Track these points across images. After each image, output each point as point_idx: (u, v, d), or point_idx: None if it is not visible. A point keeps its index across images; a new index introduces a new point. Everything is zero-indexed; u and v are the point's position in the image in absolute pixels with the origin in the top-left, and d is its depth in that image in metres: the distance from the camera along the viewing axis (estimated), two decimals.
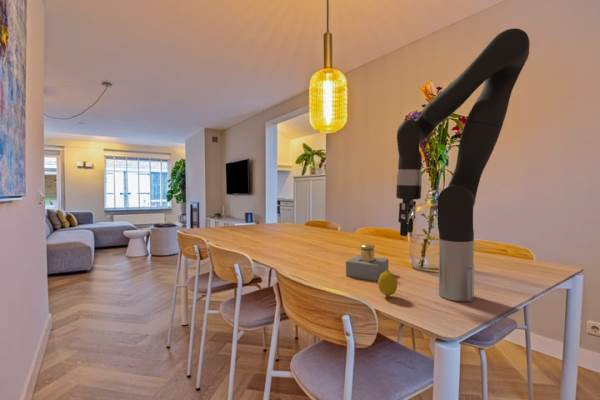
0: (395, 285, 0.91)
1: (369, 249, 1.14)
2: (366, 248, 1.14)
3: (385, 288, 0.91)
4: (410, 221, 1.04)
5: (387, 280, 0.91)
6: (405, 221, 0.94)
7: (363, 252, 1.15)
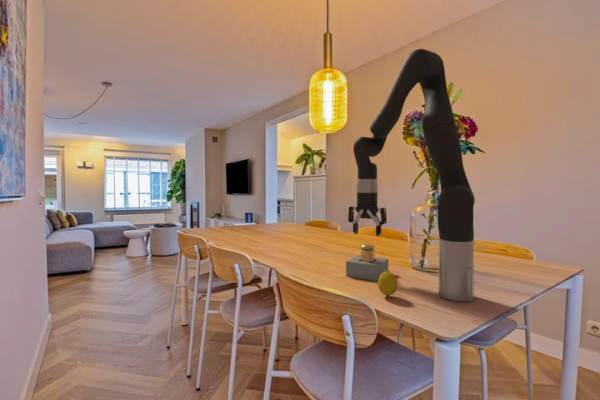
0: (395, 285, 0.91)
1: (369, 249, 1.14)
2: (366, 248, 1.14)
3: (385, 288, 0.91)
4: (357, 224, 1.19)
5: (387, 280, 0.91)
6: (386, 222, 1.13)
7: (363, 252, 1.15)
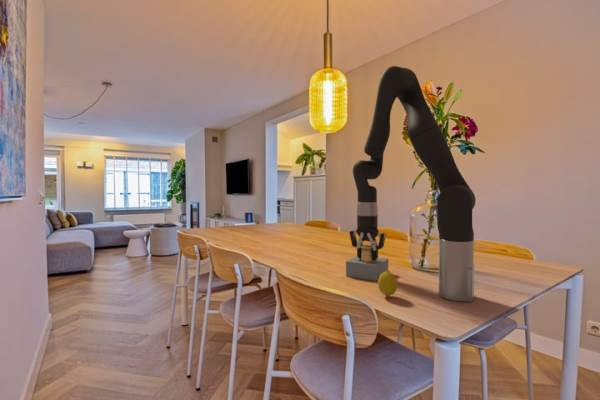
0: (395, 285, 0.91)
1: (369, 249, 1.14)
2: (366, 248, 1.14)
3: (385, 288, 0.91)
4: None
5: (387, 280, 0.91)
6: (382, 247, 1.14)
7: (363, 252, 1.15)
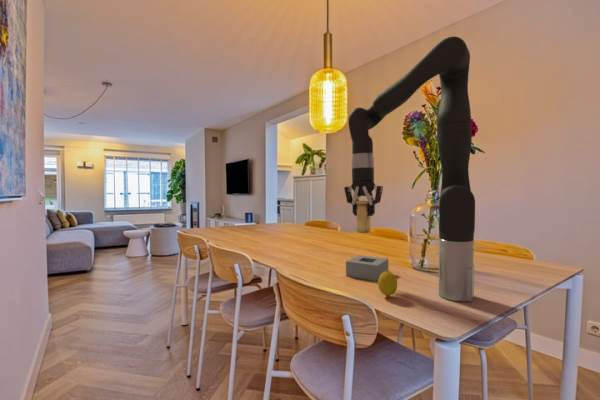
0: (395, 285, 0.91)
1: (365, 204, 1.06)
2: (362, 203, 1.06)
3: (385, 288, 0.91)
4: None
5: (387, 280, 0.91)
6: (379, 201, 1.06)
7: (358, 207, 1.07)
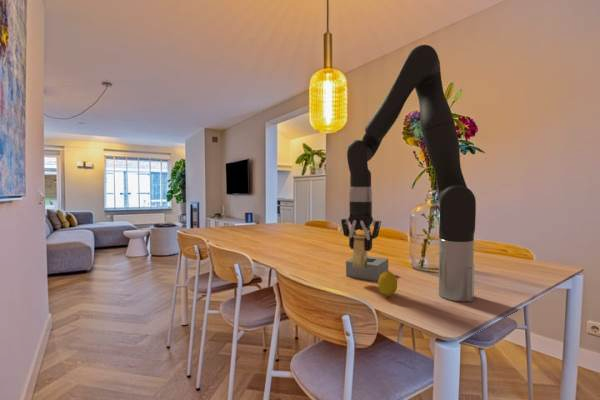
0: (395, 285, 0.91)
1: (362, 239, 1.04)
2: (359, 237, 1.04)
3: (385, 288, 0.91)
4: None
5: (387, 280, 0.91)
6: (377, 236, 1.04)
7: (356, 242, 1.05)
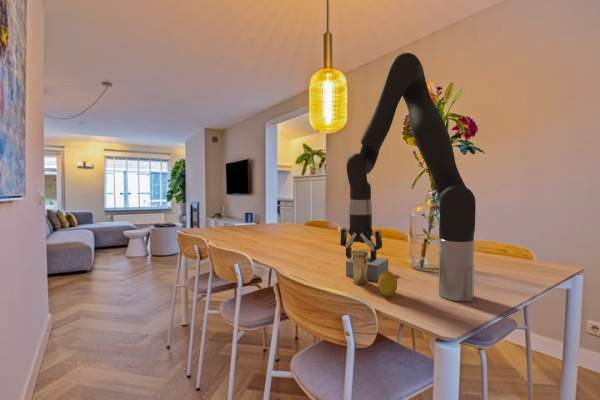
0: (395, 285, 0.91)
1: (362, 255, 1.04)
2: (359, 254, 1.04)
3: (385, 288, 0.91)
4: (350, 247, 1.09)
5: (387, 280, 0.91)
6: (381, 247, 1.03)
7: (355, 259, 1.05)
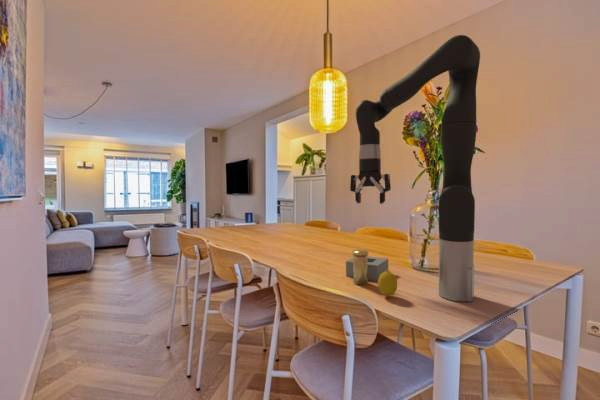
0: (395, 285, 0.91)
1: (362, 255, 1.04)
2: (359, 254, 1.04)
3: (385, 288, 0.91)
4: (359, 193, 1.14)
5: (387, 280, 0.91)
6: (390, 189, 1.09)
7: (355, 259, 1.05)
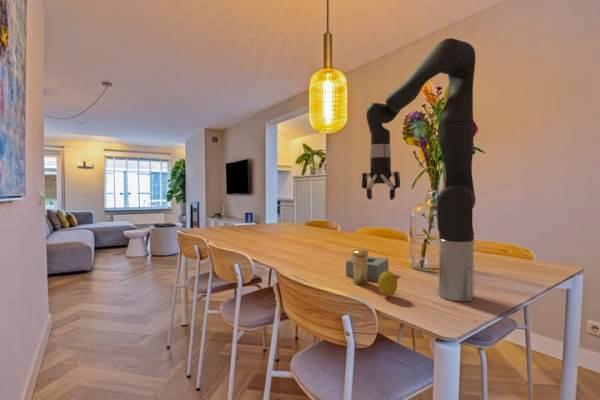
0: (395, 285, 0.91)
1: (362, 255, 1.04)
2: (359, 254, 1.04)
3: (385, 288, 0.91)
4: (370, 189, 1.21)
5: (387, 280, 0.91)
6: (399, 186, 1.16)
7: (355, 259, 1.05)
